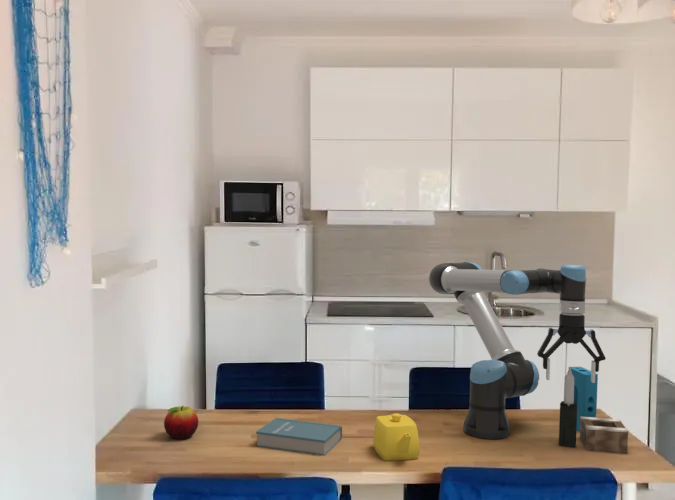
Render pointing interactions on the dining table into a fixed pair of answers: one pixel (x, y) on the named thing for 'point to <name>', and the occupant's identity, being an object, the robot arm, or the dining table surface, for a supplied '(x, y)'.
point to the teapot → (396, 437)
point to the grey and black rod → (568, 414)
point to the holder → (603, 434)
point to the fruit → (181, 422)
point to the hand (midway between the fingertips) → (570, 380)
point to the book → (299, 436)
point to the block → (584, 393)
